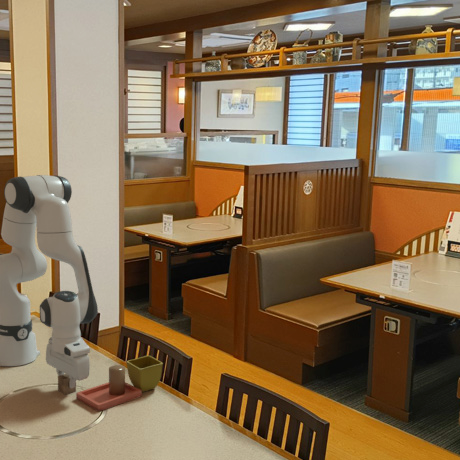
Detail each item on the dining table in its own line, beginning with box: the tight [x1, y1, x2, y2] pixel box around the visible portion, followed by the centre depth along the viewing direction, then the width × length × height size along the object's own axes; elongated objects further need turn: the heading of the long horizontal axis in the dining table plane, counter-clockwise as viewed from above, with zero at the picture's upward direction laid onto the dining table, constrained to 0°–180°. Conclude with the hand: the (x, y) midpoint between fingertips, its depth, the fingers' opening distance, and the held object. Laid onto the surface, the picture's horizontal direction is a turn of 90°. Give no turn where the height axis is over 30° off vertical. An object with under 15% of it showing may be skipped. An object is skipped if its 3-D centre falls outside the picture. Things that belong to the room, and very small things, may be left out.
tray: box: [75, 381, 143, 413], centre depth 191 cm, size 12×16×2 cm
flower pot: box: [126, 355, 164, 393], centre depth 199 cm, size 9×9×9 cm
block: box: [57, 373, 77, 396], centre depth 195 cm, size 4×4×5 cm
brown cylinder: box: [108, 364, 126, 396], centre depth 193 cm, size 5×5×8 cm
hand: (67, 384), depth 195 cm, fingers closed on block, 4 cm apart
